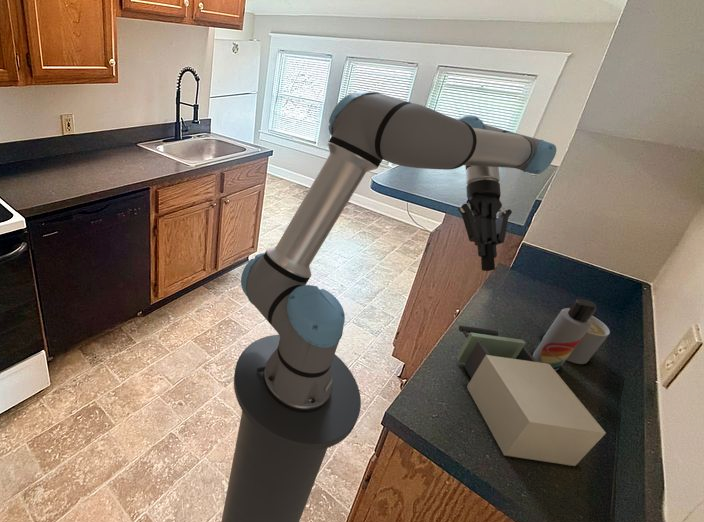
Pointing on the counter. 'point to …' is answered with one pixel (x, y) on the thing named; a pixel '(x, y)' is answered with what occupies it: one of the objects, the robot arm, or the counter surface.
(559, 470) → the counter surface
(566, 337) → the lotion bottle
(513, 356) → the drawer
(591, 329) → the coffee mug
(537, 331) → the counter surface
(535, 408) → the cream rectangular box
